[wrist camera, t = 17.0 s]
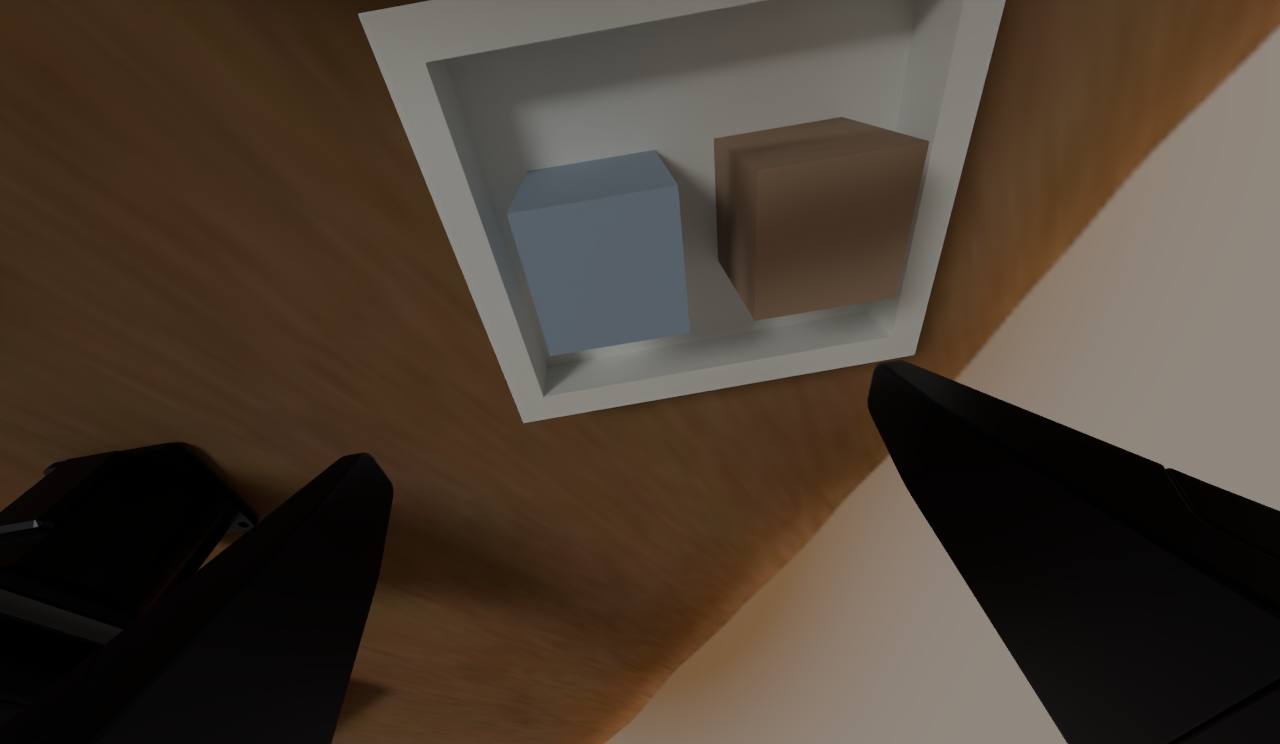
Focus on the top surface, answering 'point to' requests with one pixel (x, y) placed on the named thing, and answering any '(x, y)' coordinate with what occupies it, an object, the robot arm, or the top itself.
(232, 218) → the top surface
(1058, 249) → the top surface
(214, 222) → the top surface
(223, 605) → the robot arm
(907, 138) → the walnut block
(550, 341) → the slate block
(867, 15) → the tray
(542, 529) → the top surface
